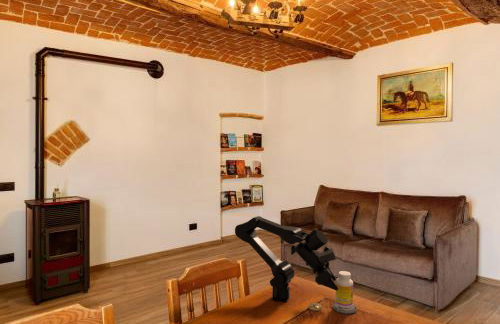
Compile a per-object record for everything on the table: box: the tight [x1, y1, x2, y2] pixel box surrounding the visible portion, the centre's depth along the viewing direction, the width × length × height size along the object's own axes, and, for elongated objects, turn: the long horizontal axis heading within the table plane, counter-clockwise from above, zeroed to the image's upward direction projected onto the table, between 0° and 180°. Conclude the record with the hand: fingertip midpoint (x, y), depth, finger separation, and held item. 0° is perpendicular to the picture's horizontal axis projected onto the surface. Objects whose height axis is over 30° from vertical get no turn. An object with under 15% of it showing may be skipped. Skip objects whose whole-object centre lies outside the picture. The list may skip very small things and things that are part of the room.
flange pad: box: [332, 302, 357, 315], centre depth 139 cm, size 9×9×1 cm
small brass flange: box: [308, 302, 323, 312], centre depth 139 cm, size 5×5×1 cm
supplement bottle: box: [334, 270, 354, 308], centre depth 139 cm, size 7×7×13 cm
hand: (336, 284), depth 139 cm, fingers open, 9 cm apart
